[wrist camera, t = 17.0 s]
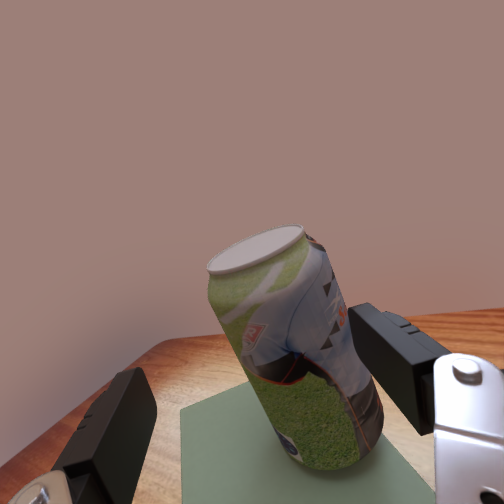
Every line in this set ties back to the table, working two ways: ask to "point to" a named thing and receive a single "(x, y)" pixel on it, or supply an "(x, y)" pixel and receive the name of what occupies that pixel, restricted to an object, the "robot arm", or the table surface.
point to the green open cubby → (278, 462)
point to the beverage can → (297, 345)
